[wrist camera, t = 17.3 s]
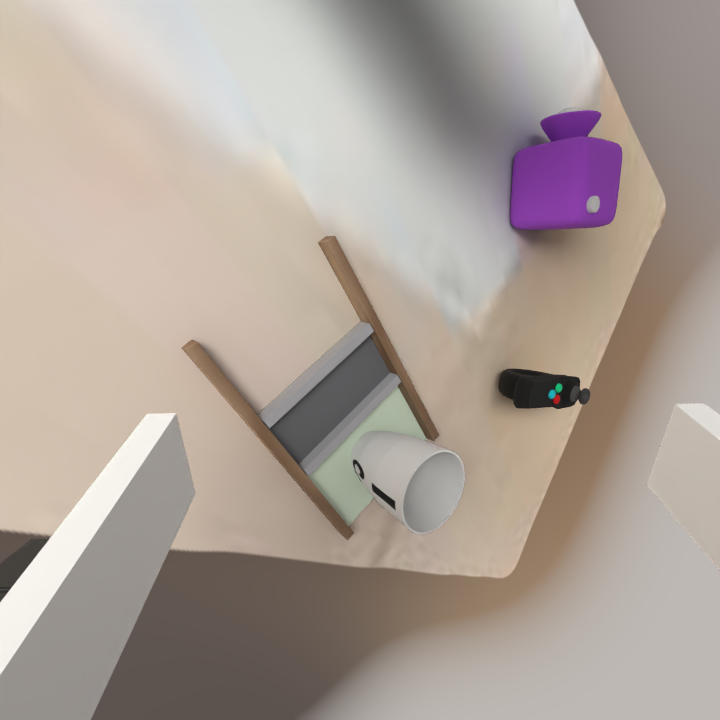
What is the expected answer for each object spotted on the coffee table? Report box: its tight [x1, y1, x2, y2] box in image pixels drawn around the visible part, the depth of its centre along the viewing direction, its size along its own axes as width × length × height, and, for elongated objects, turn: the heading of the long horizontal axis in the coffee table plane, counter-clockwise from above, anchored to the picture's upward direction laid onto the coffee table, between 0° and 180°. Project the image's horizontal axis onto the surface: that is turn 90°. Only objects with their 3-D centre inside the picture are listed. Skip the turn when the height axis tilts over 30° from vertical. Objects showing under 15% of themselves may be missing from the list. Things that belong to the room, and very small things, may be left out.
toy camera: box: [510, 107, 622, 230], centre depth 52 cm, size 11×14×10 cm
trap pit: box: [257, 322, 401, 476], centre depth 43 cm, size 14×8×2 cm, turn 123°
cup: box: [351, 431, 465, 534], centre depth 44 cm, size 8×8×10 cm
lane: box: [182, 236, 439, 540], centre depth 43 cm, size 16×27×2 cm, turn 33°
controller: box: [499, 369, 590, 409], centre depth 57 cm, size 4×12×10 cm, turn 82°
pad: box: [306, 386, 426, 526], centre depth 48 cm, size 14×10×1 cm
